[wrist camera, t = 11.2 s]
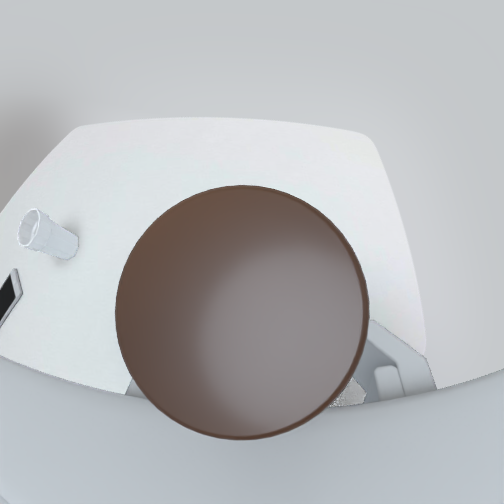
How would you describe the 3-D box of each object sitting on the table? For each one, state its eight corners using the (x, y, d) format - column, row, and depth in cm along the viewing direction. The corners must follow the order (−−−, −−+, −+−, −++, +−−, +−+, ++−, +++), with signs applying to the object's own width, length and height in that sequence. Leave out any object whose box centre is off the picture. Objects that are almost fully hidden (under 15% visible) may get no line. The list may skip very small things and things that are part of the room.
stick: (337, 329, 18) (553, 307, 1) (288, 371, 18) (210, 584, 1) (295, 283, 20) (260, 40, 3) (248, 324, 20) (1, 274, 3)
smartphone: (22, 293, 45) (19, 292, 44) (-2, 331, 44) (-5, 330, 43) (16, 268, 47) (13, 267, 46) (-8, 306, 46) (-11, 306, 45)
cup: (55, 246, 46) (15, 228, 35) (74, 222, 46) (35, 200, 36) (65, 270, 44) (21, 255, 33) (86, 246, 44) (43, 225, 34)
